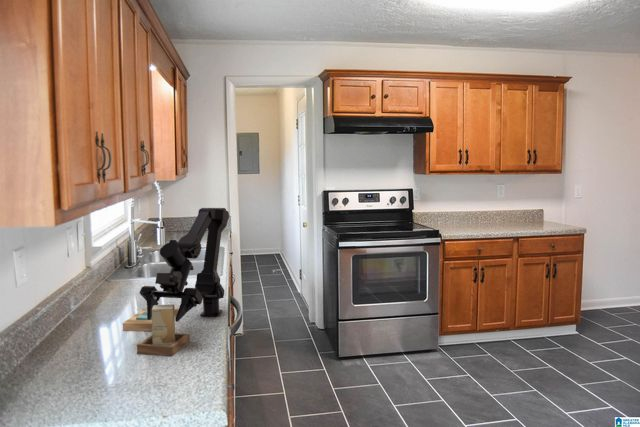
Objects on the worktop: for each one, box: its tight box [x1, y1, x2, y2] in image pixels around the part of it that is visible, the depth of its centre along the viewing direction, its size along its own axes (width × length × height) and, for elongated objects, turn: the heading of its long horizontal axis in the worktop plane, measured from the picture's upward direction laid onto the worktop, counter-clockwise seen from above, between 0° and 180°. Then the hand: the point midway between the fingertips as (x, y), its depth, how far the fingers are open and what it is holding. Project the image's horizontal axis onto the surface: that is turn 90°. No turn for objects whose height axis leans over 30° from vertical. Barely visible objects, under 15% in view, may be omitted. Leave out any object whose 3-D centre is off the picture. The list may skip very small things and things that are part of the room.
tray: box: [136, 332, 191, 357], centre depth 153 cm, size 11×11×2 cm
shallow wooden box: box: [122, 306, 179, 332], centre depth 177 cm, size 18×12×3 cm, turn 174°
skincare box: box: [151, 304, 176, 346], centre depth 152 cm, size 6×4×12 cm
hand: (162, 320), depth 152 cm, fingers open, 9 cm apart
